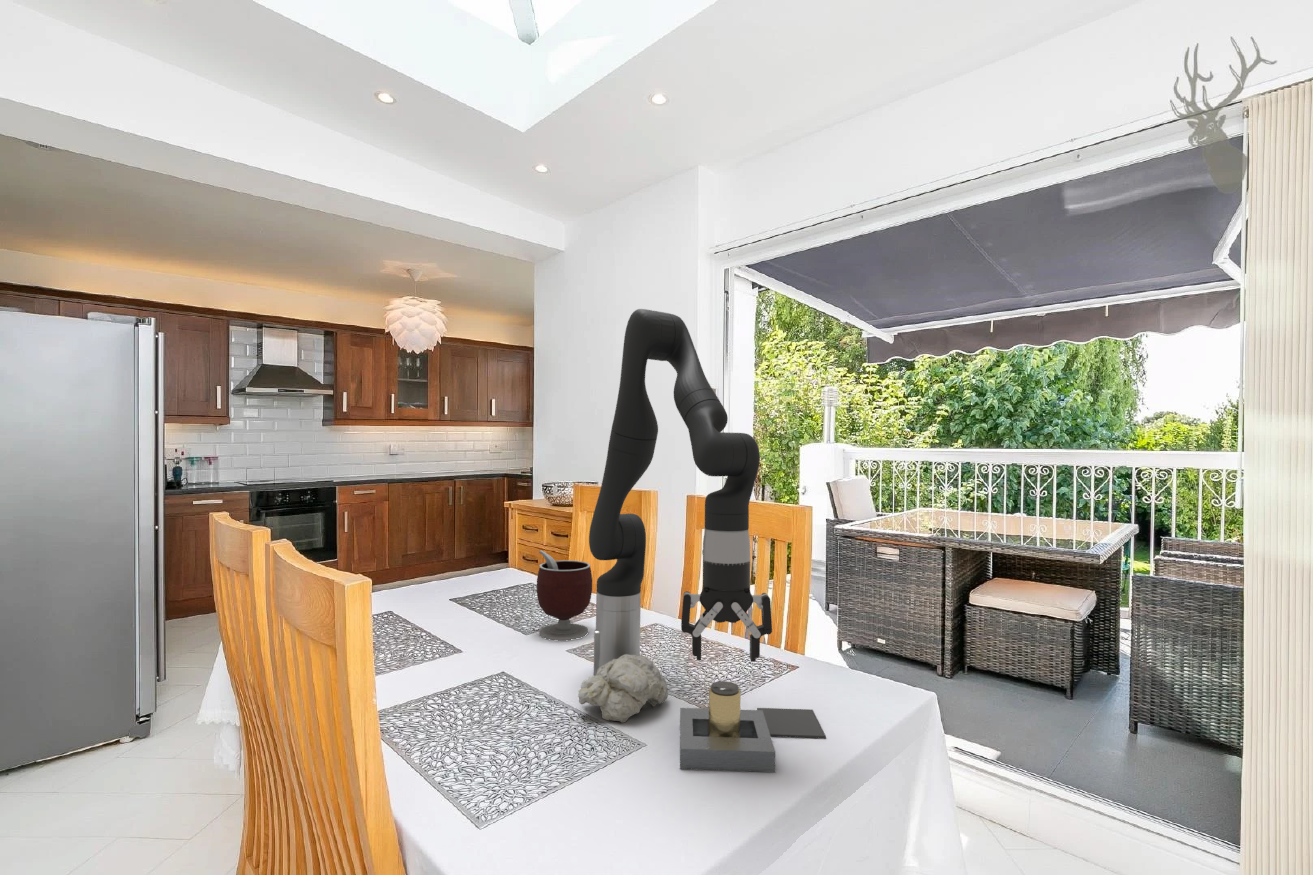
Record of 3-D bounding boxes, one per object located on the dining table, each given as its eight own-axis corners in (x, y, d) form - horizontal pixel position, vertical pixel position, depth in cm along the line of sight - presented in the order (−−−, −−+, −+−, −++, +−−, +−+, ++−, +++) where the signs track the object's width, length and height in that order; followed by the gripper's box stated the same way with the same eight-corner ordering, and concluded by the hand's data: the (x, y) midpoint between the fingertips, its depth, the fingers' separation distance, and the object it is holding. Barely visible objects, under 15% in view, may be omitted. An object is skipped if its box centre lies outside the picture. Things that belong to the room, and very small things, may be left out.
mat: (764, 736, 100) (764, 733, 100) (757, 709, 110) (757, 707, 110) (825, 738, 100) (825, 735, 100) (812, 711, 110) (812, 709, 110)
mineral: (567, 687, 114) (572, 649, 109) (652, 670, 120) (660, 633, 116) (584, 746, 104) (590, 706, 99) (676, 723, 110) (686, 685, 106)
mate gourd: (602, 630, 156) (603, 552, 156) (566, 645, 144) (568, 561, 144) (556, 620, 164) (558, 546, 164) (519, 633, 152) (520, 553, 153)
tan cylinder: (708, 754, 94) (709, 692, 94) (707, 738, 99) (708, 679, 99) (741, 755, 94) (742, 693, 94) (738, 740, 99) (739, 680, 99)
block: (679, 768, 90) (680, 748, 90) (679, 725, 104) (680, 707, 104) (775, 772, 89) (775, 751, 89) (762, 727, 103) (762, 710, 103)
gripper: (681, 560, 94) (681, 666, 93) (774, 562, 93) (774, 668, 93) (681, 552, 101) (680, 650, 101) (767, 553, 101) (767, 652, 100)
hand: (725, 659), depth 97 cm, fingers open, 8 cm apart
